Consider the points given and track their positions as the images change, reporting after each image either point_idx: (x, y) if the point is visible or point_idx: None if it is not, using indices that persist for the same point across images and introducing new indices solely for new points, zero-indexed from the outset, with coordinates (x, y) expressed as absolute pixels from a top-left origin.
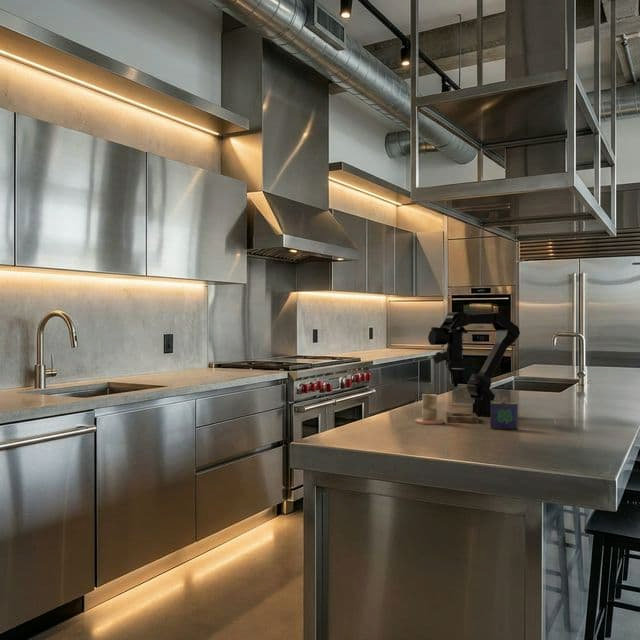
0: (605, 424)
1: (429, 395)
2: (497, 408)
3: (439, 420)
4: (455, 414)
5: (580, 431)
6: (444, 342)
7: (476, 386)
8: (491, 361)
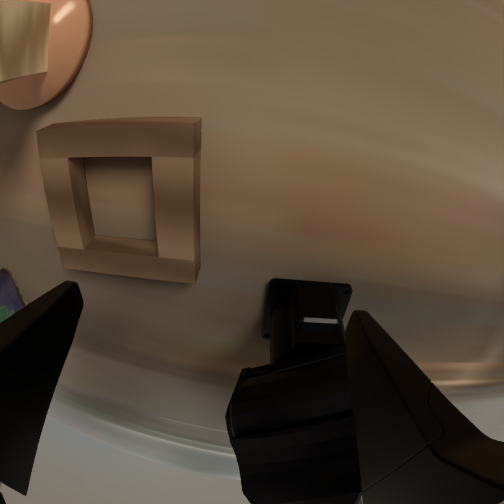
0: (188, 458)
1: None
2: None
3: (14, 93)
4: (155, 179)
5: (84, 411)
6: None
7: (240, 422)
8: None
